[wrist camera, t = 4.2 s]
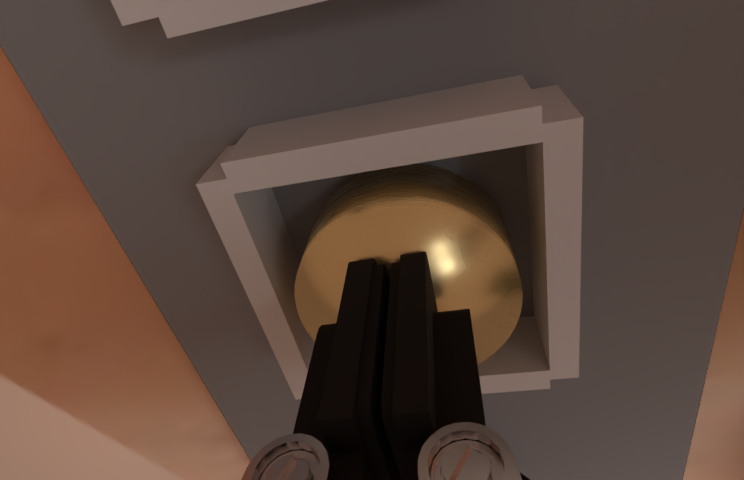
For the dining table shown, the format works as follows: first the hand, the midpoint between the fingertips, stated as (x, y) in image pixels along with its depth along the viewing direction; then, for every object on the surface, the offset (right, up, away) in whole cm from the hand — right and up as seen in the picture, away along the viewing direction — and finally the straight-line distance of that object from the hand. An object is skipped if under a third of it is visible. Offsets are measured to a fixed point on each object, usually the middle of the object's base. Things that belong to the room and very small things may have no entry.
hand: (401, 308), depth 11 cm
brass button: (0, +1, +2) cm, 2 cm away
